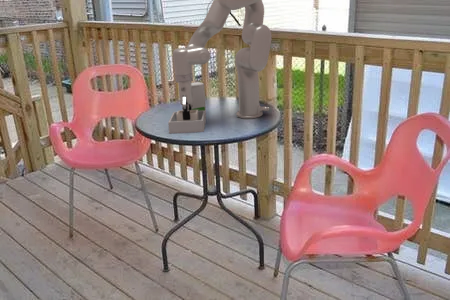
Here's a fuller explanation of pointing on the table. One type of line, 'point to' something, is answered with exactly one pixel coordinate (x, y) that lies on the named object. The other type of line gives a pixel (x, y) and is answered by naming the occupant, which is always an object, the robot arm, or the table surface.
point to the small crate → (192, 115)
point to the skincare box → (198, 97)
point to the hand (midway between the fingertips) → (187, 116)
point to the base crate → (187, 124)
